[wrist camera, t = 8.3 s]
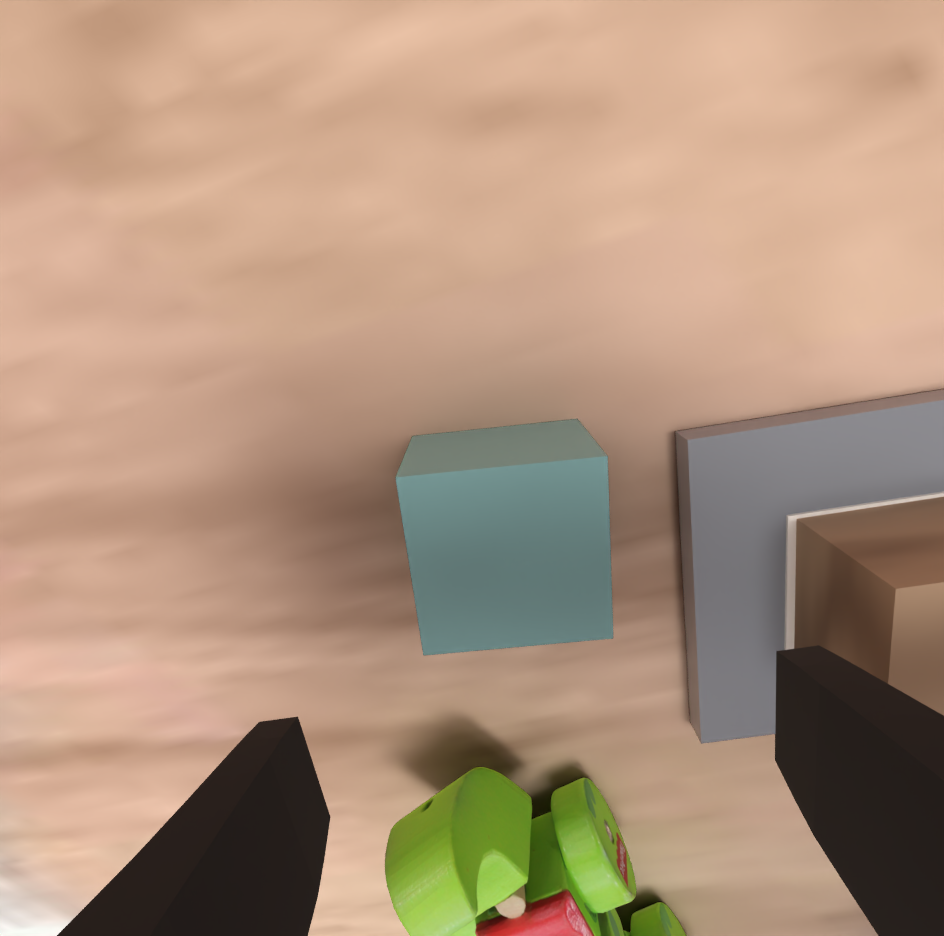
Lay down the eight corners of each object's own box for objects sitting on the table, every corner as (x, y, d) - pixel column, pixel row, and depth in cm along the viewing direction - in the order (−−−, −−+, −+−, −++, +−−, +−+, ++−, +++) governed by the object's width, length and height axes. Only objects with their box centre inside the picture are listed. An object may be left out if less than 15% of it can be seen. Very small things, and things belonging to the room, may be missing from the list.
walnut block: (952, 636, 18) (1086, 733, 14) (793, 659, 18) (881, 759, 14) (970, 492, 16) (1125, 556, 12) (796, 518, 16) (895, 589, 12)
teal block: (583, 565, 18) (613, 638, 14) (433, 579, 18) (423, 655, 15) (576, 417, 17) (607, 455, 13) (413, 434, 17) (395, 477, 13)
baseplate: (1003, 680, 19) (1033, 702, 18) (690, 721, 20) (702, 746, 19) (1053, 371, 16) (1094, 377, 15) (675, 431, 17) (688, 441, 16)
